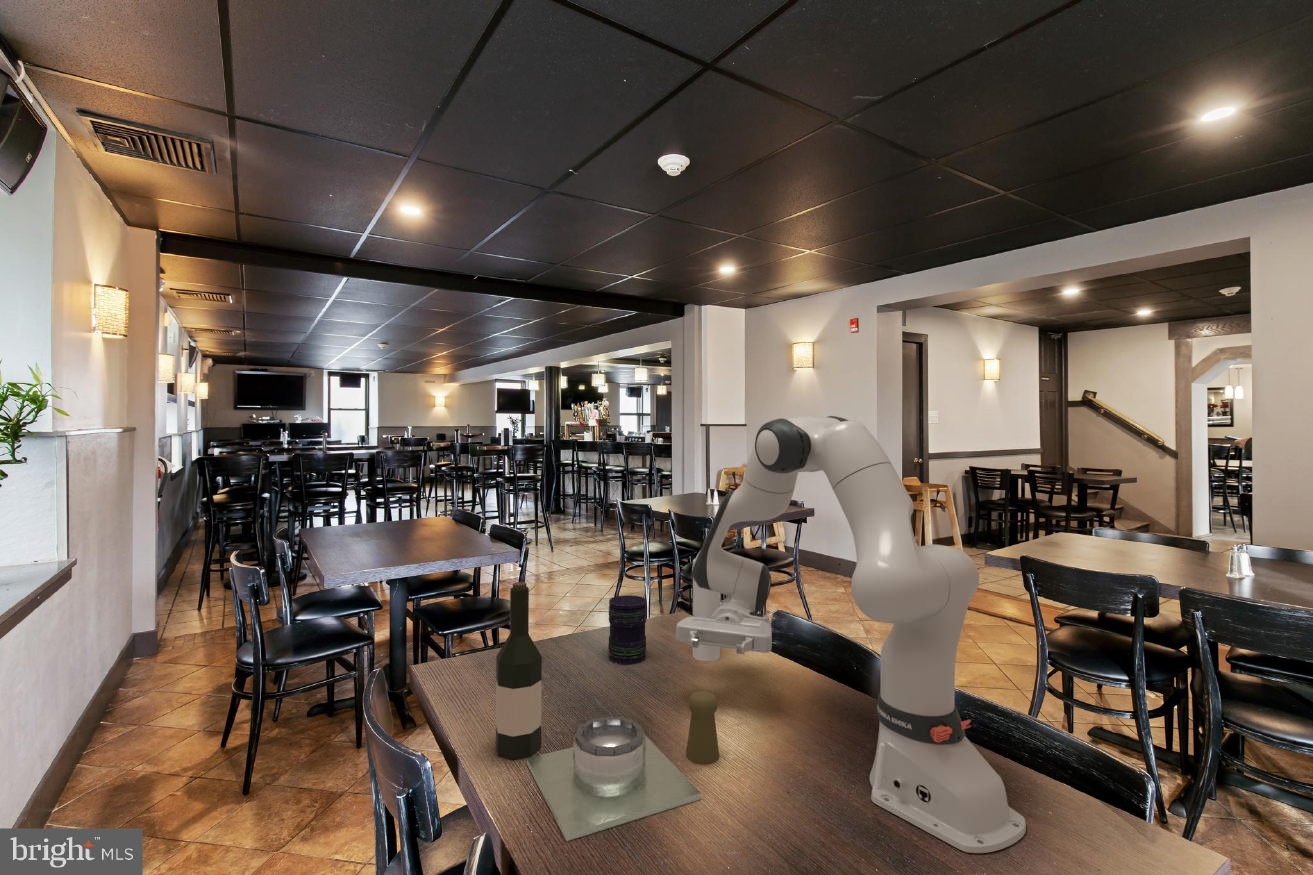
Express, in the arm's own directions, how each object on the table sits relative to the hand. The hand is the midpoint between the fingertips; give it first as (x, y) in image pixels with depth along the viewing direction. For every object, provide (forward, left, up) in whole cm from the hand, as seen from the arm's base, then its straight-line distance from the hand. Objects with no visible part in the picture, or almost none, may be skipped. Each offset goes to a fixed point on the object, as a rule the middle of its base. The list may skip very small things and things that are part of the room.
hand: (716, 646), depth 117 cm
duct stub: (-9, +27, -15) cm, 32 cm away
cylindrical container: (+32, -17, -15) cm, 40 cm away
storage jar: (+40, +2, -15) cm, 43 cm away
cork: (-9, +8, -15) cm, 20 cm away
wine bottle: (+8, +38, -15) cm, 41 cm away
